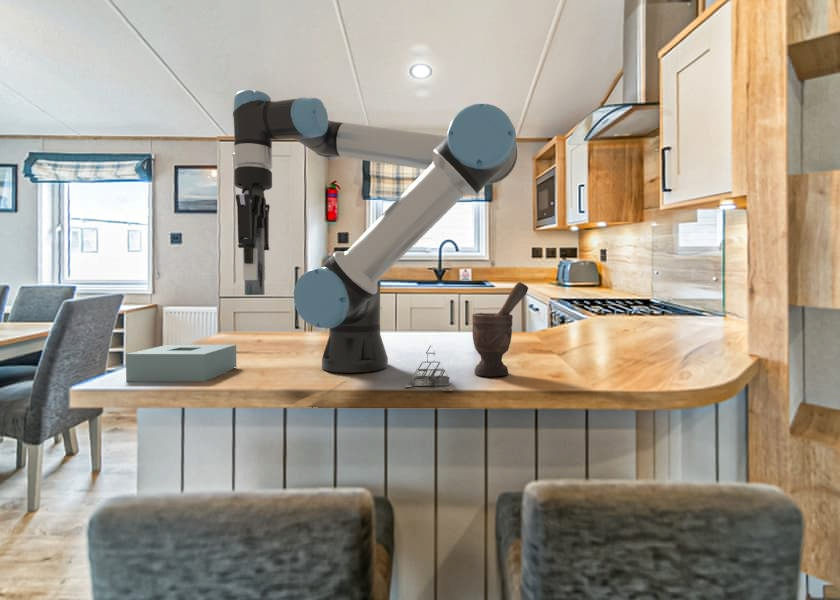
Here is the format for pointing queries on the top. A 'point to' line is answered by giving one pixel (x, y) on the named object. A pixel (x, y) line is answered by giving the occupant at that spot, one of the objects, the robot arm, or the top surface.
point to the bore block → (180, 363)
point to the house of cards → (430, 379)
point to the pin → (258, 285)
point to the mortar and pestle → (495, 335)
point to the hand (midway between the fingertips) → (254, 280)
